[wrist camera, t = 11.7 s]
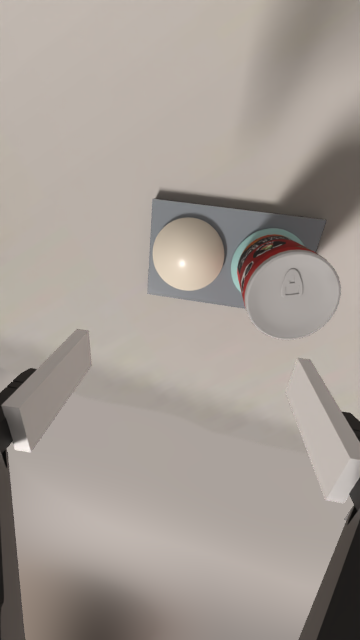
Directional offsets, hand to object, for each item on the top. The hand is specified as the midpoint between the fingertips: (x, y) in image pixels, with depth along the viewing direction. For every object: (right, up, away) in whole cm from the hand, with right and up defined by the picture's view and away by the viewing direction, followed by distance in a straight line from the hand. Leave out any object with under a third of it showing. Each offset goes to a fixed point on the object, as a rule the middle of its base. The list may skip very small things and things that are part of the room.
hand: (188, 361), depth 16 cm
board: (+6, +11, +17) cm, 21 cm away
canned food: (+10, +9, +15) cm, 20 cm away
